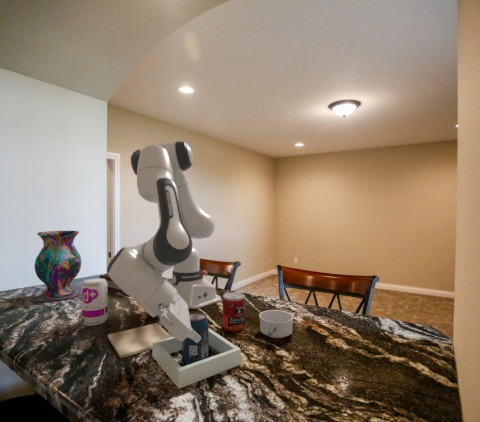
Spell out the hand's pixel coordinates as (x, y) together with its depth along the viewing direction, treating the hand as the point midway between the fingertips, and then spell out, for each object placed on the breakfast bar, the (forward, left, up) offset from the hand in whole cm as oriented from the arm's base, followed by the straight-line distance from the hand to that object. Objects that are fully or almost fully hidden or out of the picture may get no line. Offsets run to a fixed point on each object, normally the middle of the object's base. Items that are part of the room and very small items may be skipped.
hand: (197, 332), depth 77 cm
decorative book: (-5, -85, -8) cm, 86 cm away
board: (+9, -21, -7) cm, 24 cm away
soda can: (+1, 0, -8) cm, 8 cm away
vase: (+26, -88, -8) cm, 92 cm away
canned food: (-20, -12, -8) cm, 25 cm away
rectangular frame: (+1, 0, -7) cm, 7 cm away
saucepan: (-26, +2, -8) cm, 27 cm away
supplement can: (+18, -45, -8) cm, 49 cm away
